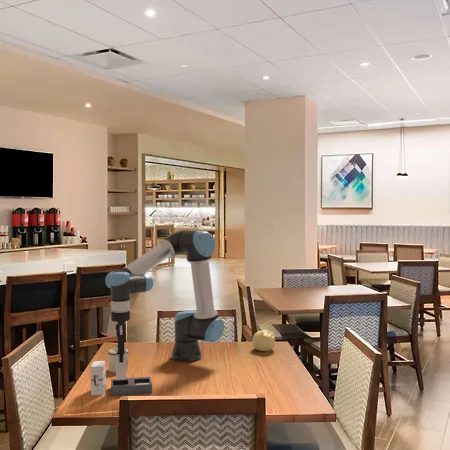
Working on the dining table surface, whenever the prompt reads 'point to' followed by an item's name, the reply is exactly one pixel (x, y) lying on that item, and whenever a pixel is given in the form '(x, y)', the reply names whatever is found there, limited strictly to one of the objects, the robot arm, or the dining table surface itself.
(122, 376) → the plug
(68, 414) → the dining table surface
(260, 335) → the pale yellow rounded lump
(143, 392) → the console
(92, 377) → the ink box
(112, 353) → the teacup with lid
